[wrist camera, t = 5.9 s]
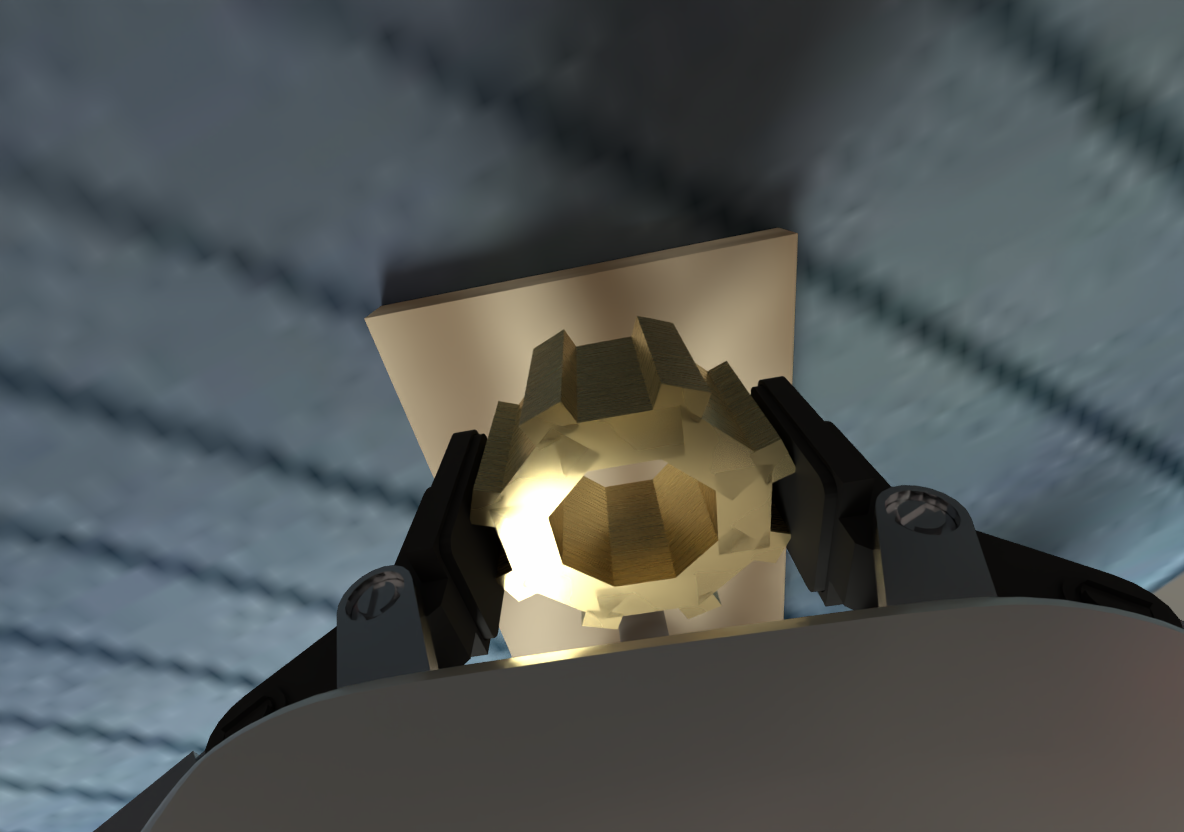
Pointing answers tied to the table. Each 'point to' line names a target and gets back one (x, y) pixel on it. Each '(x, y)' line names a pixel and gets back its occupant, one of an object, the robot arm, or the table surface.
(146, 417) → the table surface
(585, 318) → the gear board
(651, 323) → the brass gear
